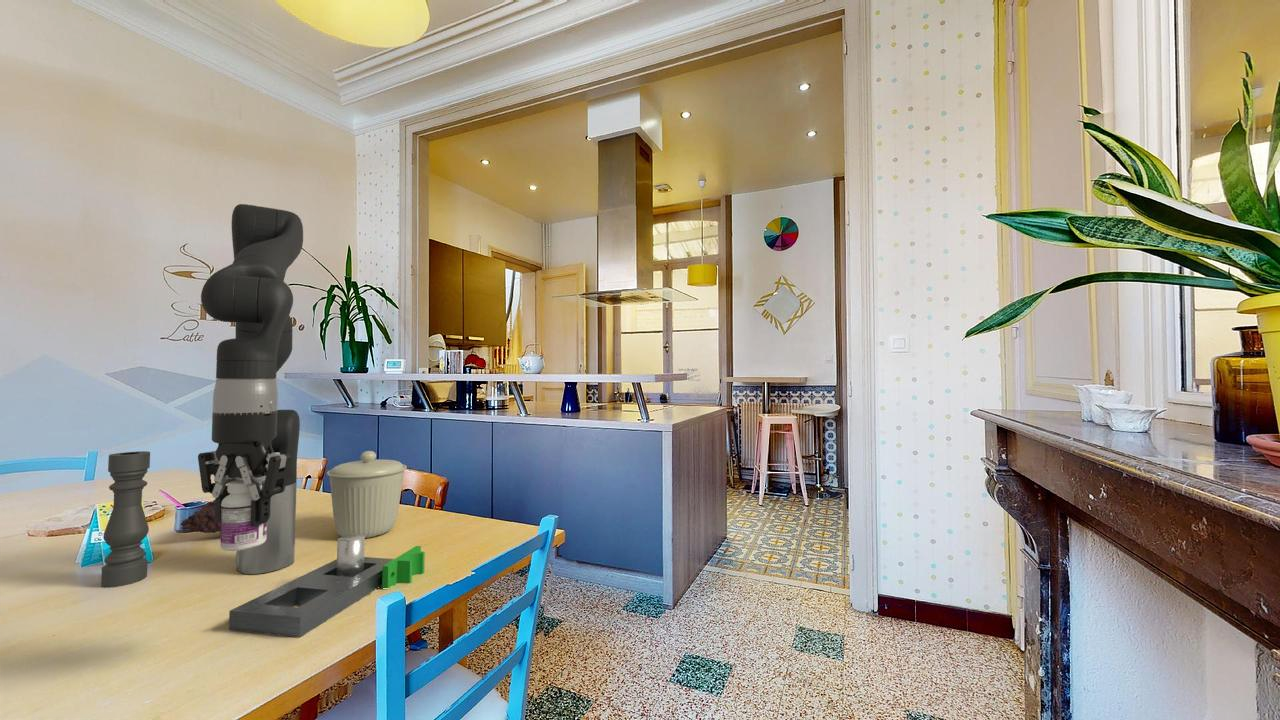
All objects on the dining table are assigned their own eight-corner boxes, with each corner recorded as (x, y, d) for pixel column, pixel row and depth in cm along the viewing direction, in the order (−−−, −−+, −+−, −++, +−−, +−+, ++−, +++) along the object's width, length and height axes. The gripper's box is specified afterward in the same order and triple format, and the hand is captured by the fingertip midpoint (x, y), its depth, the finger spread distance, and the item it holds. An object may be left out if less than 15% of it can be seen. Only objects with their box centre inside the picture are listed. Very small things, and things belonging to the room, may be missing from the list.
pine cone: (184, 549, 111) (186, 506, 112) (175, 540, 117) (176, 499, 117) (276, 530, 125) (277, 492, 126) (263, 523, 131) (264, 486, 132)
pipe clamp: (400, 591, 91) (400, 567, 91) (382, 590, 91) (382, 566, 92) (432, 567, 102) (432, 545, 102) (415, 566, 103) (416, 545, 103)
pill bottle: (238, 539, 74) (240, 476, 74) (274, 538, 74) (276, 476, 75) (209, 552, 68) (211, 485, 69) (249, 551, 69) (251, 484, 69)
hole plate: (228, 629, 77) (229, 610, 77) (344, 569, 100) (344, 555, 100) (299, 637, 74) (300, 617, 75) (400, 574, 98) (400, 559, 98)
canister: (306, 542, 116) (308, 455, 117) (361, 520, 134) (363, 445, 135) (372, 547, 113) (374, 458, 114) (419, 524, 131) (421, 447, 132)
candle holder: (153, 577, 96) (158, 452, 97) (109, 589, 90) (114, 457, 91) (138, 571, 99) (143, 450, 99) (95, 583, 93) (100, 454, 94)
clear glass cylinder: (330, 588, 91) (331, 541, 92) (348, 578, 96) (349, 533, 96) (351, 590, 91) (352, 542, 91) (369, 580, 95) (370, 534, 95)
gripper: (178, 409, 69) (174, 528, 69) (263, 412, 67) (260, 534, 66) (230, 406, 76) (226, 512, 76) (309, 408, 74) (306, 518, 74)
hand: (242, 522), depth 71 cm, fingers closed on pill bottle, 5 cm apart
